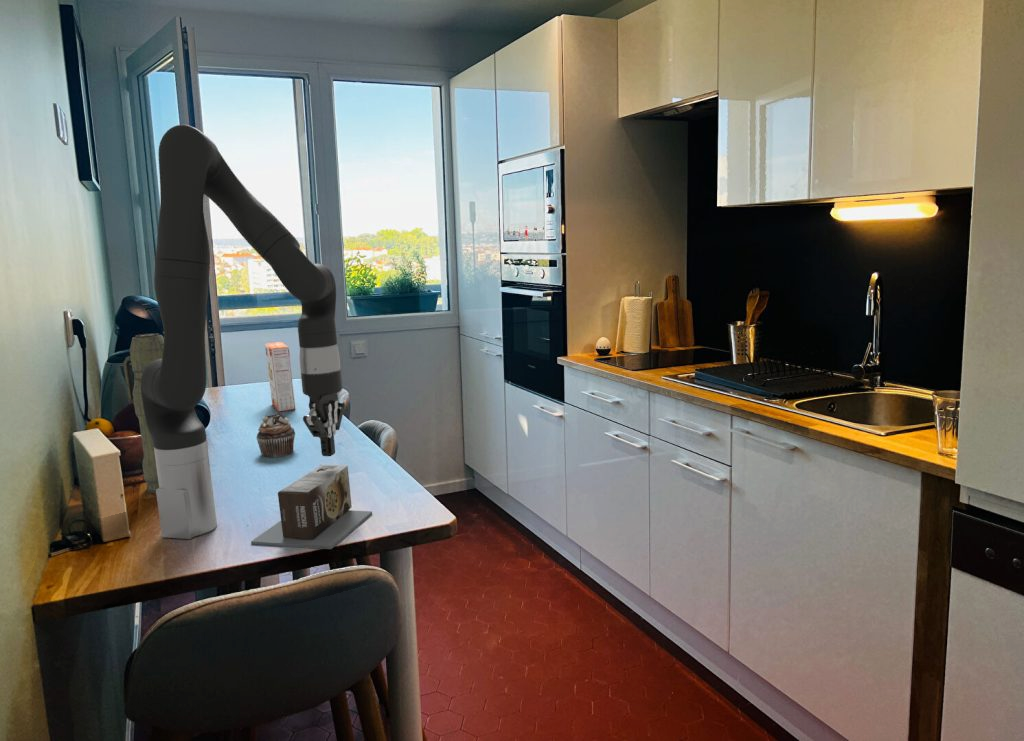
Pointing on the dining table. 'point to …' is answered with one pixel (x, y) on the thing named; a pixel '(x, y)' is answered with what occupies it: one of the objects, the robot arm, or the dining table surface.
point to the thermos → (142, 355)
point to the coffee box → (314, 502)
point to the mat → (323, 540)
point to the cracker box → (280, 376)
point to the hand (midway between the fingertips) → (328, 455)
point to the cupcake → (275, 436)
